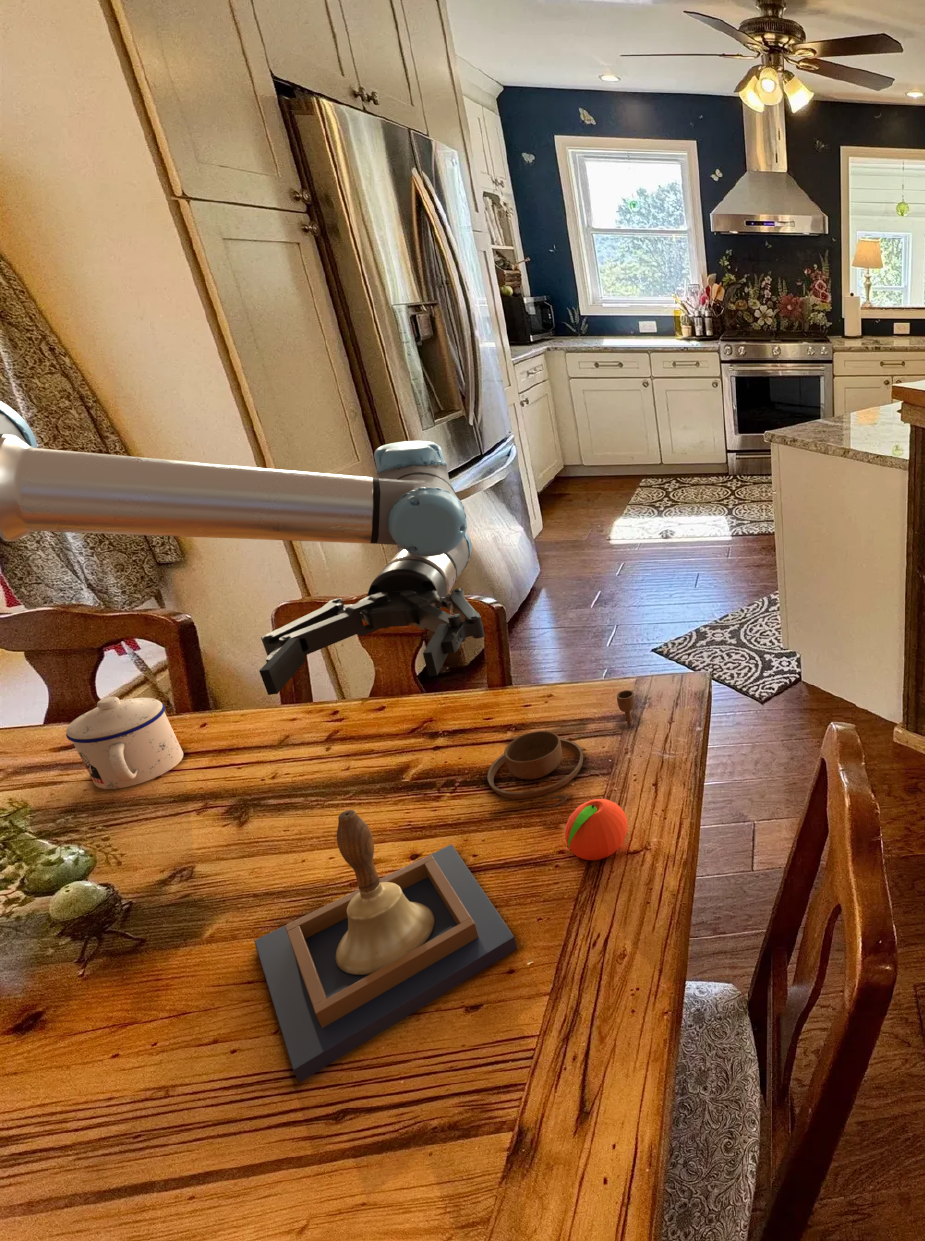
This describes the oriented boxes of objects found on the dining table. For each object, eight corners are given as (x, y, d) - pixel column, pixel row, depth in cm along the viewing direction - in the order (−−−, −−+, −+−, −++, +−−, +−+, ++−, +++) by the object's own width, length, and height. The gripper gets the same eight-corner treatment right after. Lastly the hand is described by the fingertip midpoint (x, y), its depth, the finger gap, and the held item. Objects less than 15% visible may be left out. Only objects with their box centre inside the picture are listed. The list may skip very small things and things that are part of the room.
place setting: (494, 746, 103) (486, 712, 101) (638, 718, 110) (633, 686, 108) (484, 827, 88) (475, 790, 86) (650, 788, 96) (646, 753, 93)
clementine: (598, 887, 81) (590, 840, 78) (549, 870, 83) (539, 823, 80) (642, 838, 88) (636, 793, 85) (596, 824, 89) (588, 779, 87)
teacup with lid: (99, 767, 96) (62, 695, 92) (189, 743, 102) (158, 673, 97) (85, 817, 88) (43, 741, 83) (184, 787, 93) (150, 714, 89)
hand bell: (422, 891, 76) (385, 773, 70) (445, 940, 71) (406, 817, 65) (329, 936, 71) (279, 812, 65) (345, 993, 66) (292, 864, 59)
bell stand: (262, 957, 71) (247, 925, 70) (456, 859, 84) (447, 830, 82) (302, 1088, 60) (285, 1055, 58) (518, 954, 73) (510, 922, 71)
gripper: (528, 603, 93) (499, 688, 74) (303, 624, 86) (209, 724, 67) (518, 550, 90) (485, 625, 71) (284, 567, 83) (180, 655, 64)
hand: (351, 673), depth 69 cm, fingers open, 13 cm apart
